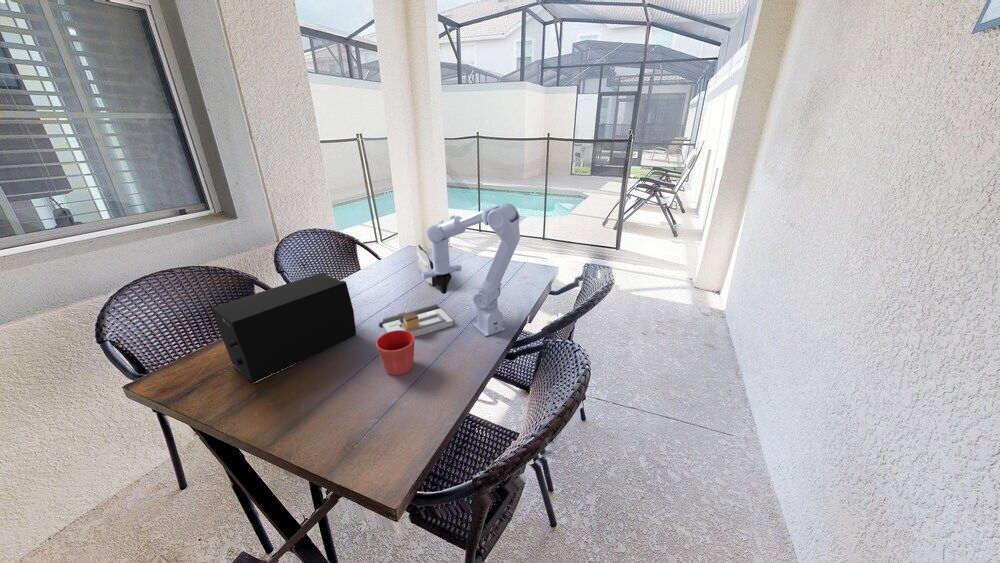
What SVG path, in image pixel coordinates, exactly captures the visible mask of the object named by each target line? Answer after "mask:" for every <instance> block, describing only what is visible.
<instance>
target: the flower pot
mask: <svg viewBox="0 0 1000 563" xmlns="http://www.w3.org/2000/svg"><path fill="white" fill-rule="evenodd" d="M375 345H376V349H377V351H378V353H379V354H378V355H379V356H380V359H381V361H382V364H383V366H384V369H385V371H386V372H387V374H390V375H392V376H400V375H404V374H406V373H408V372H410V371H411V370H412V368H413V366H414V365H413V364H414V355H415V352H414V351H415V337H414V335H413V334H412V333H411V332H409V331H405V330H395V331H390V332H387V333H382V335H380V336H378V338H377V340H376V342H375Z"/></svg>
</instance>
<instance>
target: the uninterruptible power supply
mask: <svg viewBox="0 0 1000 563" xmlns="http://www.w3.org/2000/svg"><path fill="white" fill-rule="evenodd" d="M211 310H212V313H213V315H214V319H215V321H216V324H217V327H218V330H219V333H220V337H221V339H222V342H223V344H224V346H225V348H226V351H227V354H228V356H229V359H230V361H231V364H232V365H233V364H234V365H235V366H236V367H237V368H238V369H239V370H240V371H241V372H242V373H243V374H244V375H245V376H246V377H247V378H248V379H249V380H250V381H251V382H252V383H254V382H256V381H258V380H260V379H262V378H264V377H267V376H269V375H271V374H273V373H276V372H278V371H281V370H282V369H285V368H287V367H289V366H291V365H293V364H295V363H298V362H300V361H302V362H304V361H306V360H307V358H308V359H310V358H312V357H314V356H316V355H318V354H320V353H322V352H325V351H327V350H329V349H330V348H332V347H333V348H334V346H337V345H339V344H340V343H342V342H344V341H347V340H349V339H351V338H353V337H355V336H357V330H356V329H357V328H356V321H355V311H354V308H353V303H352V300H351V295H350V293H349V288H348V283H347V281H346V280H345V281H344V280H339V279H336V278H334V277H332V276H330V275H327V273H325V272H320V273H316V274H313V275H310V276H307V277H304V278H301V279H297V280H295V281H291V282H289V283H286V284H282V285H279V286H276V287H272V288H269V289H266V290H263V291H260V292H256V293H254V294H251V295H247V296H244V297H241V298H238V299H235V300H231V301H228V302H224V303H222V304H219V305H216V306H213V307H211ZM315 354H316V355H315ZM313 355H314V356H313ZM311 356H312V357H311ZM309 357H310V358H309ZM305 359H306V360H305ZM303 360H304V361H303ZM300 363H301V362H300ZM298 364H299V363H298ZM291 367H292V366H291ZM289 368H290V367H289ZM287 369H288V368H287ZM285 370H286V369H285ZM281 372H282V371H281ZM246 377H245V378H246ZM247 378H246V379H247ZM248 379H247V380H248ZM249 380H248V381H249ZM250 381H249V382H250ZM251 382H250V383H251ZM252 383H251V384H252Z"/></svg>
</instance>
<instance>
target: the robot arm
mask: <svg viewBox="0 0 1000 563" xmlns="http://www.w3.org/2000/svg"><path fill="white" fill-rule="evenodd" d="M520 217H521V216H520V214H519V211H518V210H517V208H516V206H514V204H512V203H504V204H502V205H495V206H490V207H488V208H484V209H482V210H480V211H478V212H475V213H473V214H470V215H468V216H465V217H461V216H459V215H456V216H455V215H452V216H449V219H447V220H444V219H443V220H440V221H438V223H436V224H433V225H431V226H429V227H428V229H427V230H426V236H427V239H428V240H429V241H430V243H431V256H432V263H433V269H431V270H429V271H426V272H423V273H422V272H421V278H422V280H425V279H427V278H430V277H434V278H435V279H436V281H437V283H438V284H437V285H438V288H439V290H440V293H441V294H442V295H445V294H447V293H448V292H447V291H448V286H449V284H450V281H451V279H452V276H453V275H452V274H451V273H455V272H462V265H460V264H453V265H450V256H449V255H450V254H449V252H450V251H449V250H450V249H449V241H450V240H449V238H450V239H451V238H452V237H453V238H454V237H455V236H457V235H461V234H463V233H465V232H466V229H467V228H469V227H471V226H476V225H477V224H481V223H483V224H484V225H485V226H489V227H490V228H491V229H492V231H493V232H494V233H495V234H496V235H497V236H498V237H499V239H500V240H501V241H500V243H499V245H498V248H497V250H496V253H495V255H494V258H493V260H492V263H491V265H490V267H489V269H488V272H487V274H486V277H485V279H484V281H483V282H482V283H481V285H480V286H479V288H478V290H477V291H475V292H474V293H473V296H472V301H473V304H474V305H475V306H476V318H477V319H476V320H477V321H476V322H473V323H472V325H473V327H475V329H477V330H478V331H479V332H480V333H482V335H484V336H485V337H488V336H491V335H494V334H497V333H500V332H503V331H505V330H506V328H505V327H504V325H503V324H504V321H503V320H504V314H503V313H502V311H501V310H500V309H499V306H498V298H499V297H500V295H501V293H502V292H501V287H502V280H503V277H504V275H505V274H506V271H507V269H508V266H509V265H510V263H511V259H512V258H513V256H514V254H515V251H516V248H518V244H519V242H520V239H521V234H520V219H521V218H520ZM425 281H426V280H425Z"/></svg>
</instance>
